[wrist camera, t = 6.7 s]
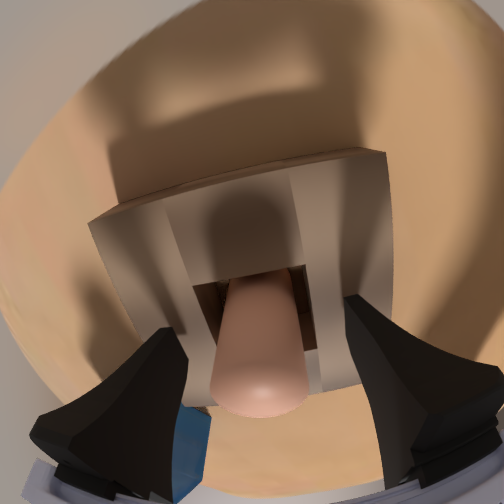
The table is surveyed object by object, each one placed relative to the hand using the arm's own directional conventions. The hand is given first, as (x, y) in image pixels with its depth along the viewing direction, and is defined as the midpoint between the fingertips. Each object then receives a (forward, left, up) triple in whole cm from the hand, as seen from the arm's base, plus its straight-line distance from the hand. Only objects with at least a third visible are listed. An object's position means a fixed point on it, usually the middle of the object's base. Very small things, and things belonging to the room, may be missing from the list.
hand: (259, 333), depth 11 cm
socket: (0, 0, -4) cm, 4 cm away
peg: (0, 0, -4) cm, 4 cm away
